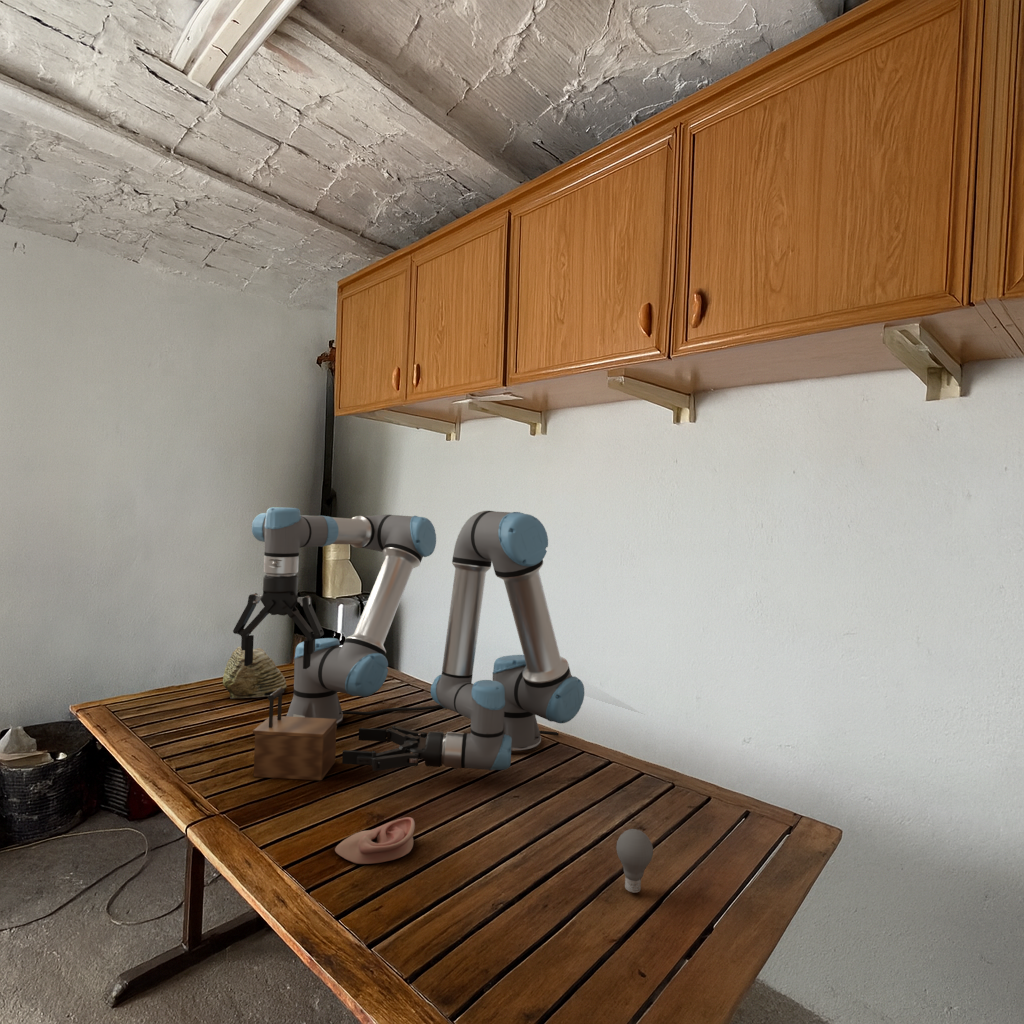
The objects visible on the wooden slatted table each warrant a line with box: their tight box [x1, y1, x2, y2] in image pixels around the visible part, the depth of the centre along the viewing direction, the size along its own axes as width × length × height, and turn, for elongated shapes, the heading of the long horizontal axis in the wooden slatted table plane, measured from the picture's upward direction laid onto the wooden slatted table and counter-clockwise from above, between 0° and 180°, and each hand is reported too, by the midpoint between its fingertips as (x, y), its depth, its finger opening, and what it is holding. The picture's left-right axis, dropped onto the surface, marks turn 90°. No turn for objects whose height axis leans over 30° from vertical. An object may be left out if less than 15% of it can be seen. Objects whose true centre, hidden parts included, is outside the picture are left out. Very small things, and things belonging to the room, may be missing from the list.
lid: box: [252, 687, 337, 738], centre depth 146 cm, size 16×10×8 cm, turn 88°
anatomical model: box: [334, 816, 416, 865], centre depth 115 cm, size 13×4×12 cm
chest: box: [253, 723, 338, 781], centre depth 146 cm, size 15×10×10 cm, turn 88°
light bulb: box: [615, 828, 654, 894], centre depth 106 cm, size 6×6×10 cm
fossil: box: [222, 646, 288, 699], centre depth 198 cm, size 9×18×15 cm, turn 132°
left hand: (277, 666), depth 146 cm, fingers open, 13 cm apart
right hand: (351, 744), depth 145 cm, fingers open, 13 cm apart
